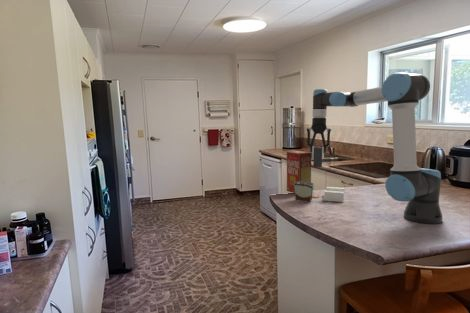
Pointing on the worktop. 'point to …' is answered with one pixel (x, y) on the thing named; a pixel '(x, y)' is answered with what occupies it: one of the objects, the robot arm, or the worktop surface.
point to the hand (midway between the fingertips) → (317, 158)
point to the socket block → (334, 194)
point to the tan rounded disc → (315, 196)
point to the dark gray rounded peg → (317, 157)
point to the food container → (303, 191)
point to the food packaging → (298, 168)
